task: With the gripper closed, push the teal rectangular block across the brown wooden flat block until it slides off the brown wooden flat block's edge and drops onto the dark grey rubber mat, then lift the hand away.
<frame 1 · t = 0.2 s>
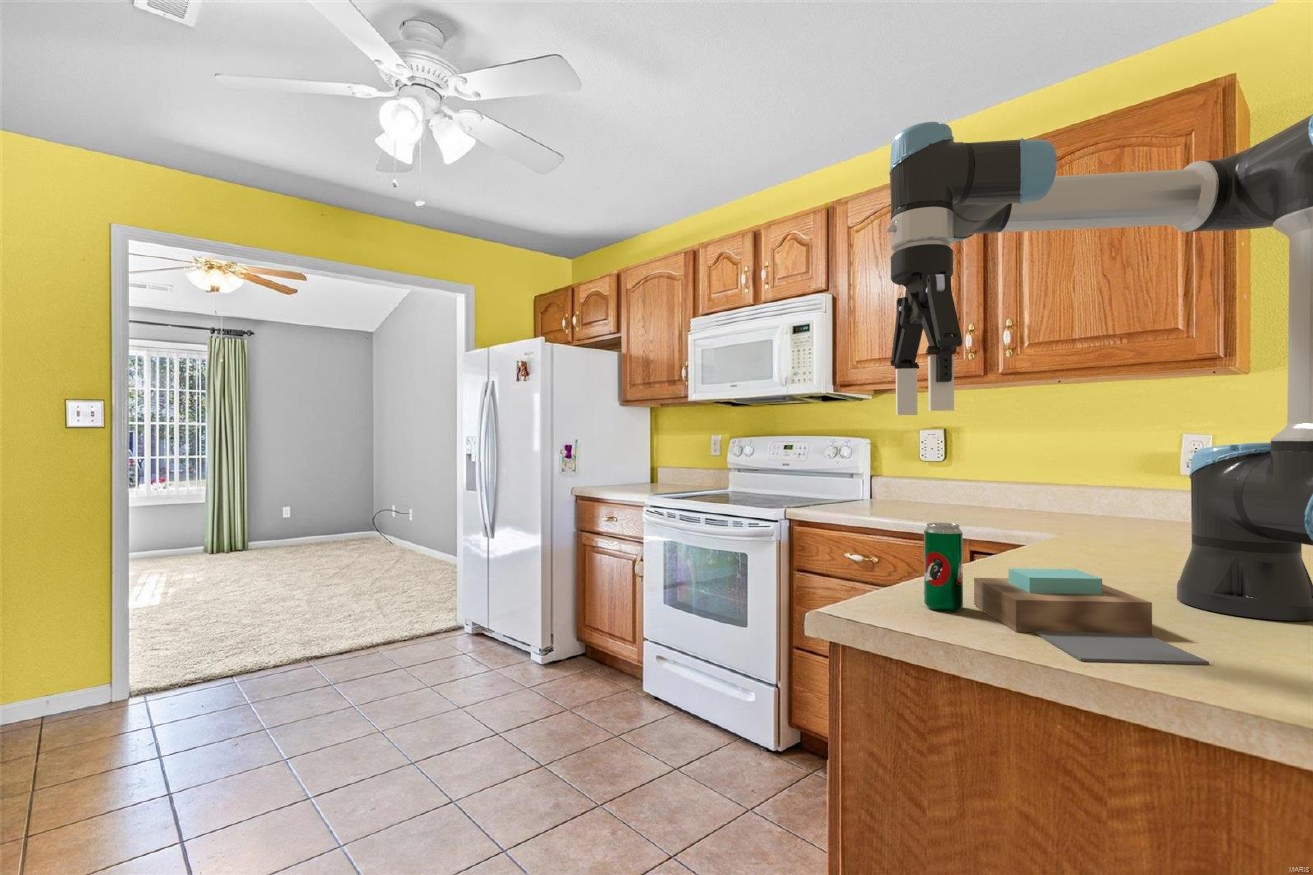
hand: (922, 413, 84), 28 cm above the table, tool pointing down, fingers open, 13 cm apart
brown wooden flat block: (1055, 618, 86), on the table
soda can: (943, 609, 92), on the table
mat: (1115, 647, 74), on the table
teal rectangular block: (1053, 588, 87), point 4 cm above the table, touching brown wooden flat block
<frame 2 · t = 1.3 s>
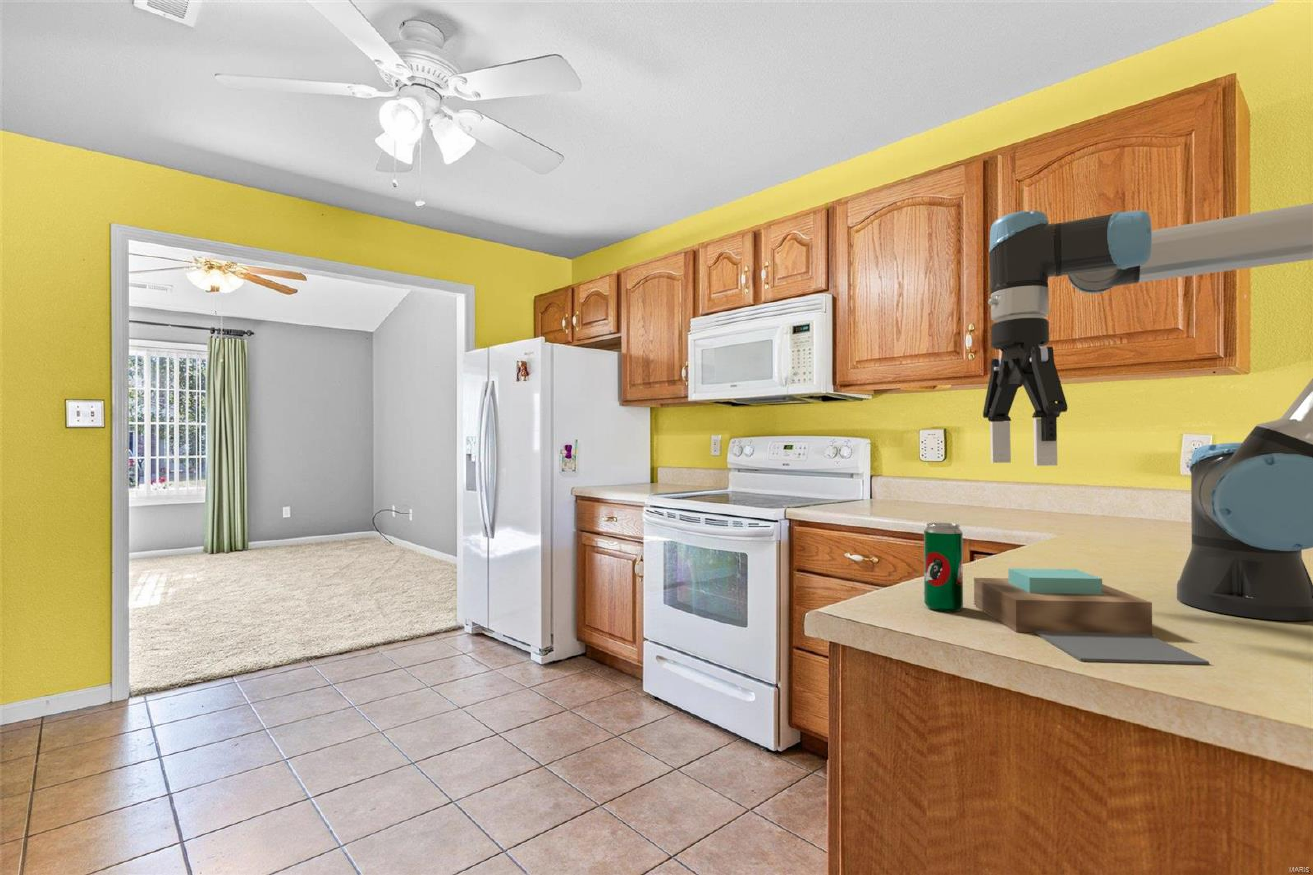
hand: (1021, 464, 95), 20 cm above the table, tool pointing down, fingers open, 13 cm apart
nothing on the table moved.
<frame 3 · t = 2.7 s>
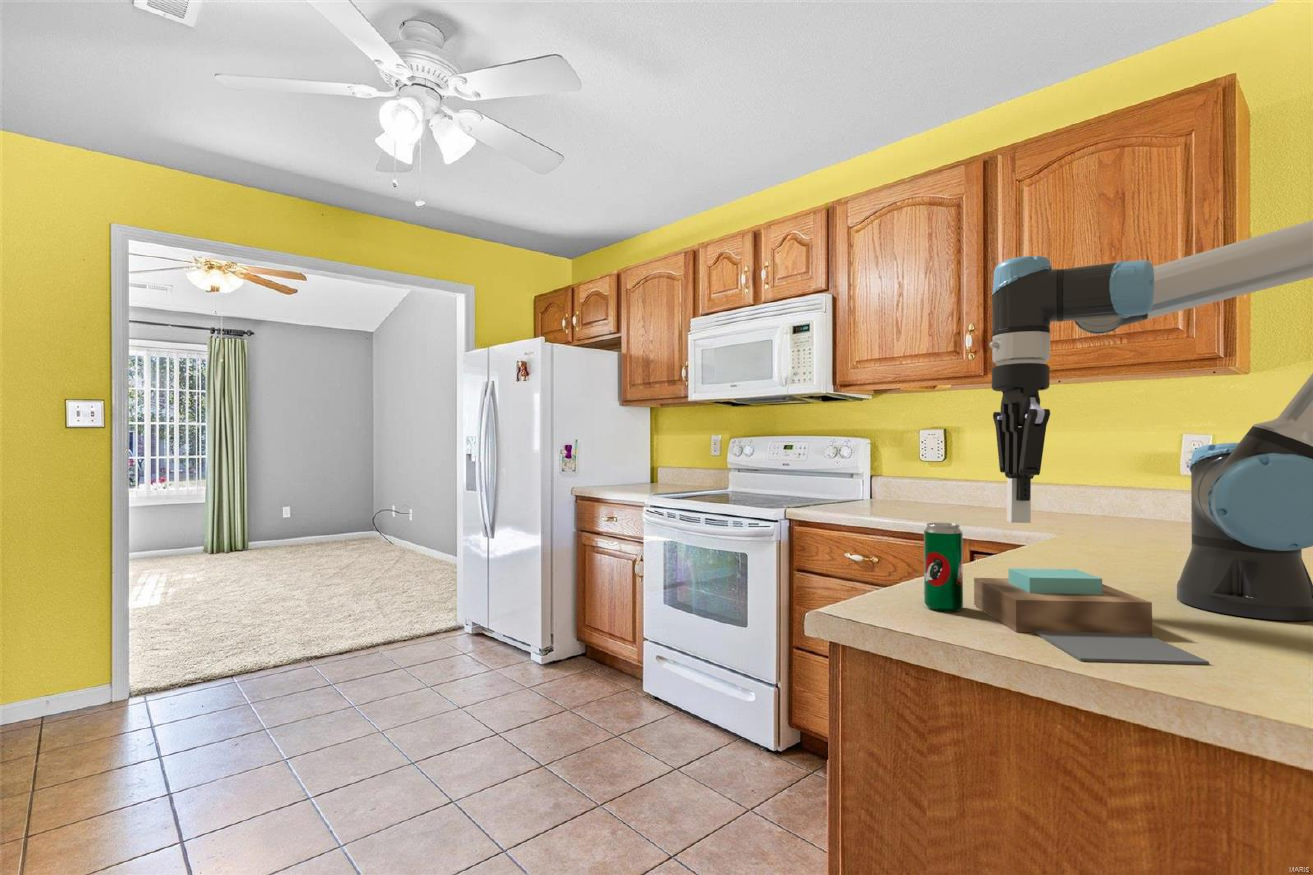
hand: (1018, 522, 96), 12 cm above the table, tool pointing down, fingers closed
nothing on the table moved.
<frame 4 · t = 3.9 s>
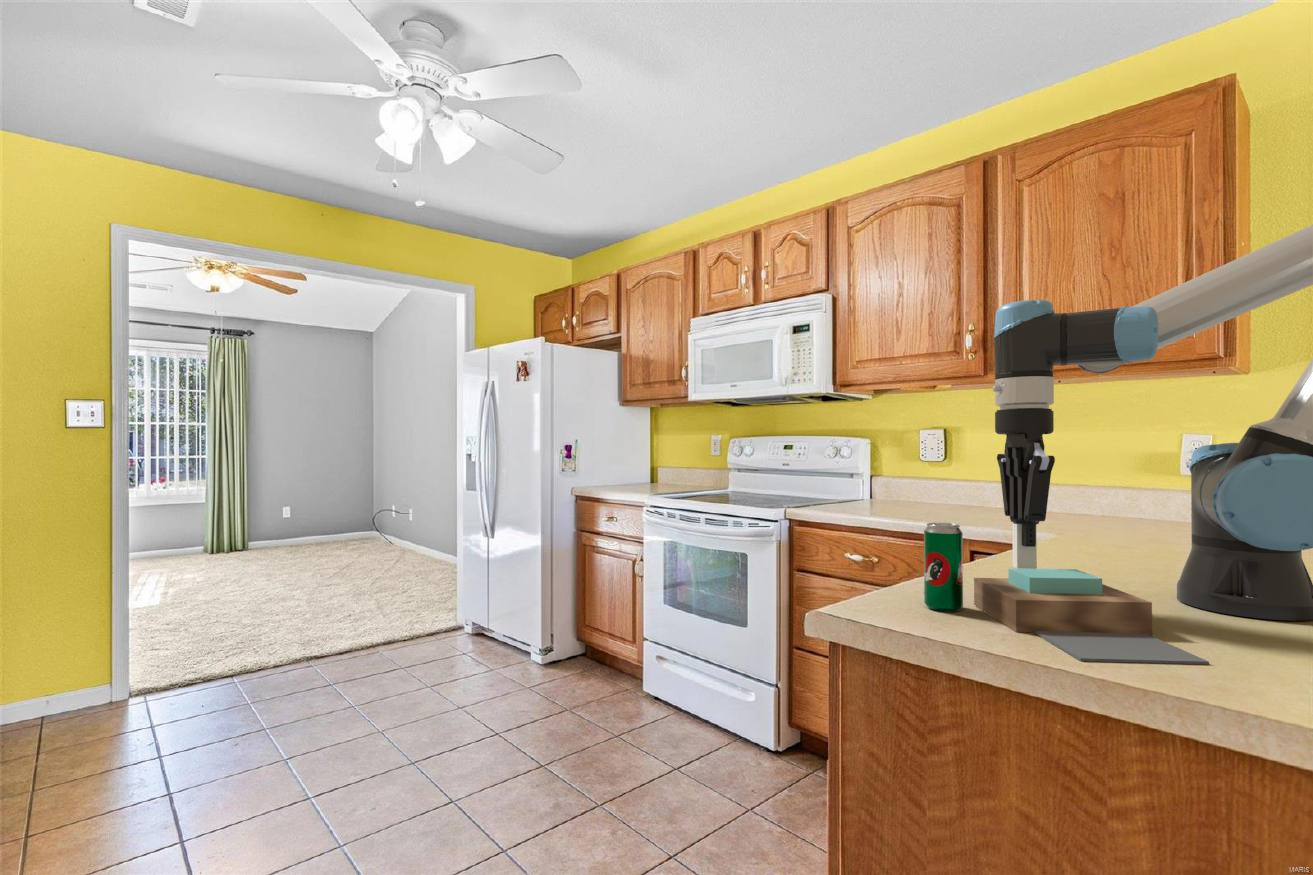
hand: (1024, 567, 95), 5 cm above the table, tool pointing down, fingers closed
nothing on the table moved.
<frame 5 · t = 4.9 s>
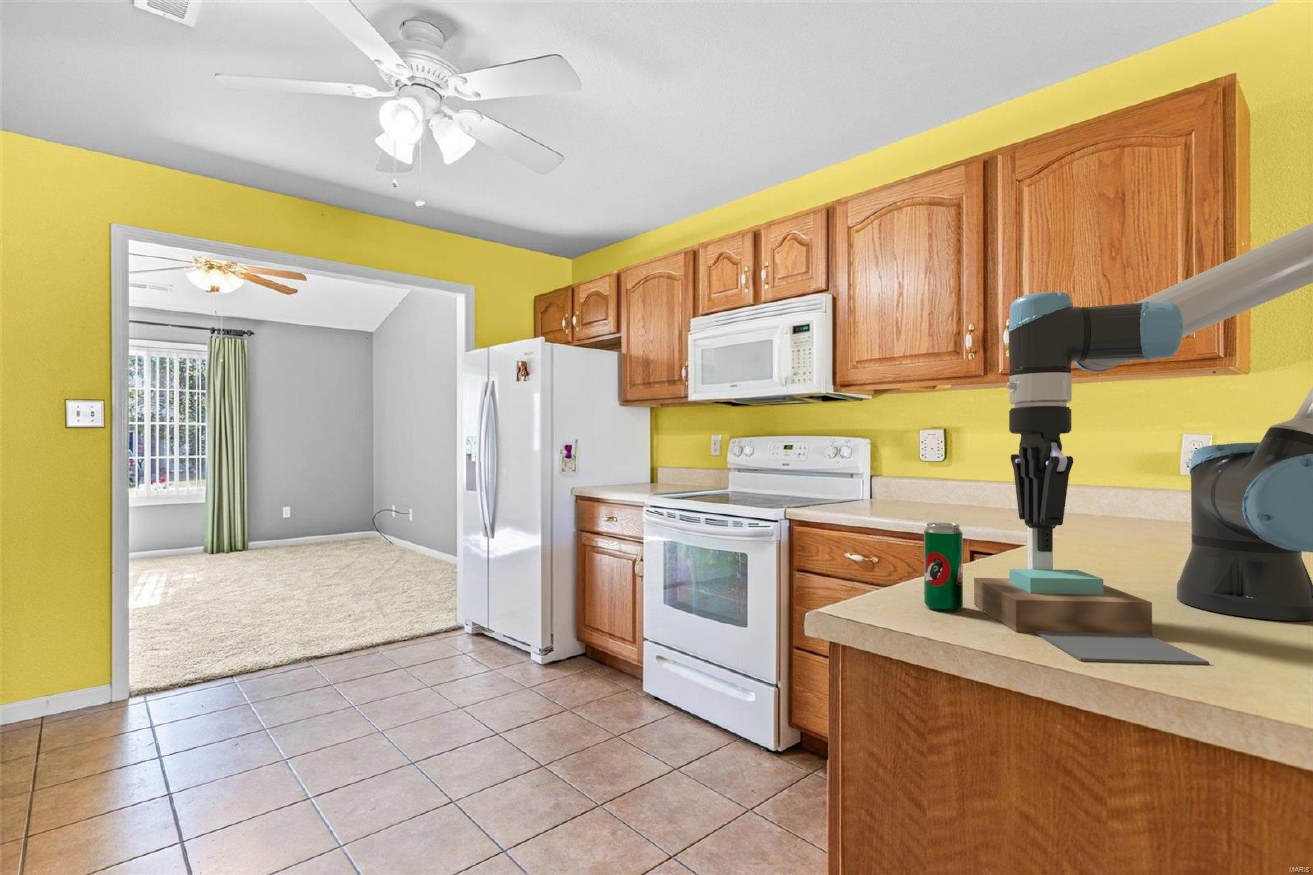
hand: (1040, 573, 90), 5 cm above the table, tool pointing down, fingers closed
teal rectangular block: (1054, 588, 86), point 4 cm above the table, touching gripper
everything else where it was.
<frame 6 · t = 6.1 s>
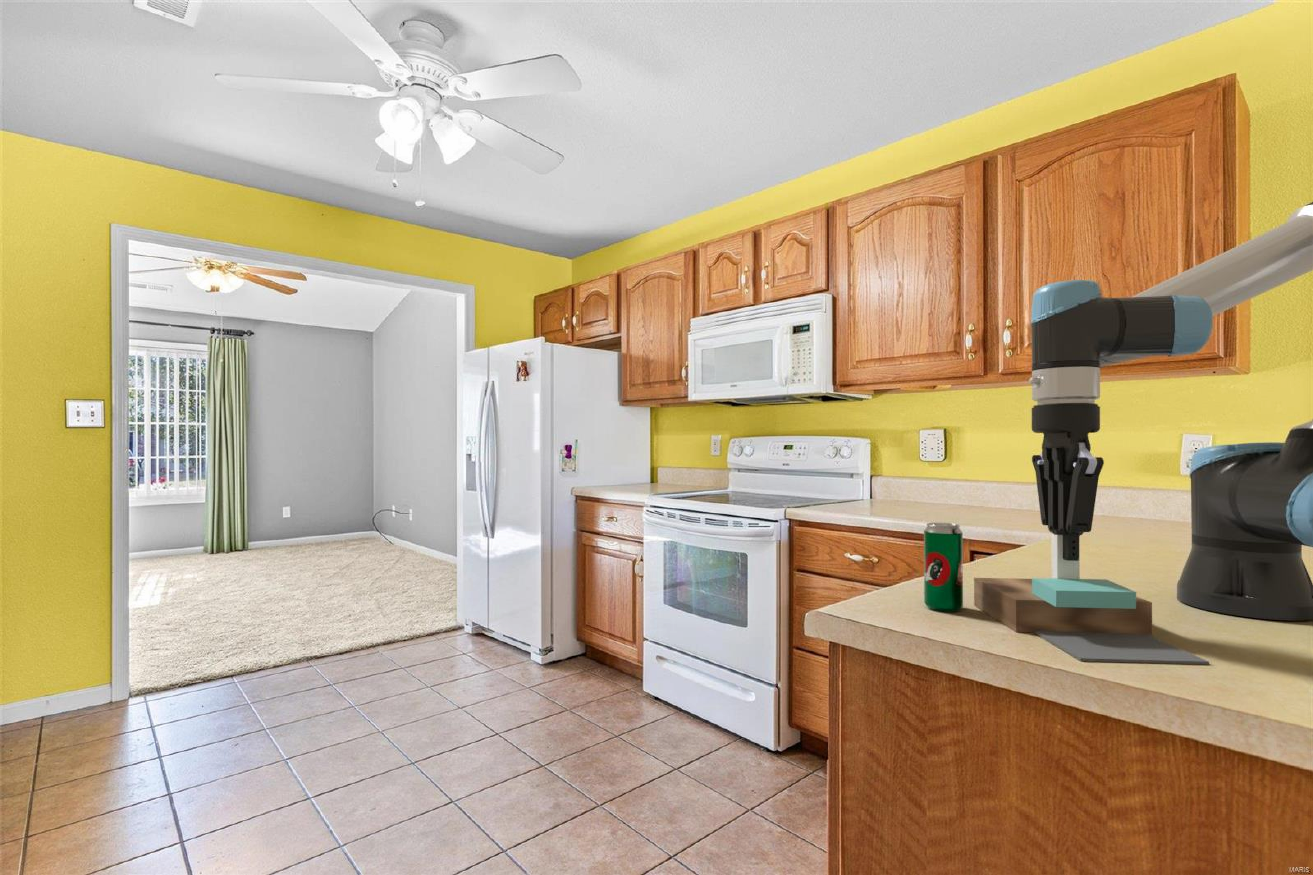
hand: (1065, 583, 84), 5 cm above the table, tool pointing down, fingers closed
teal rectangular block: (1081, 600, 80), point 4 cm above the table, touching gripper
everything else where it was.
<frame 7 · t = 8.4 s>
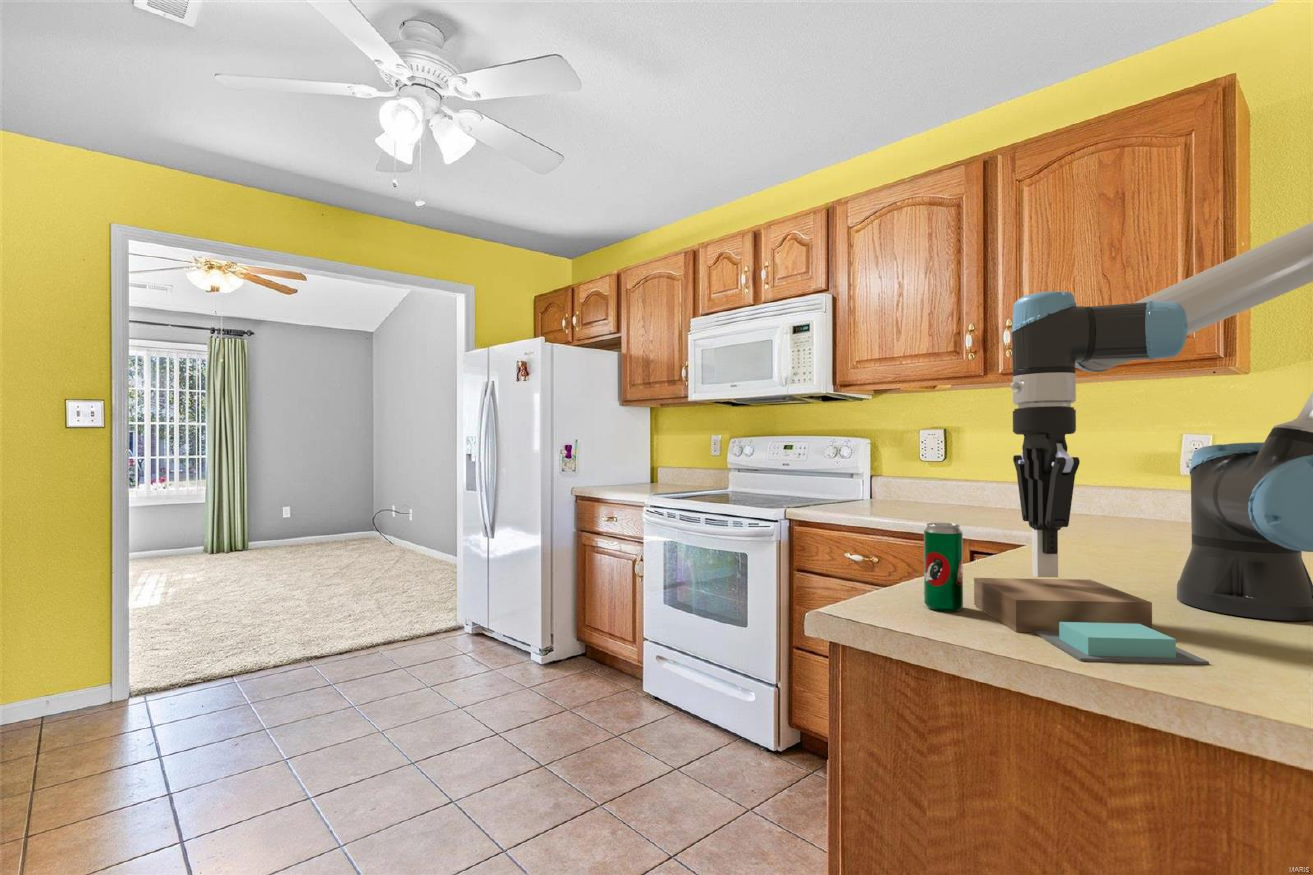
hand: (1045, 576, 89), 5 cm above the table, tool pointing down, fingers closed
teal rectangular block: (1114, 630, 73), point 2 cm above the table, tilted 180°, touching mat
everything else where it was.
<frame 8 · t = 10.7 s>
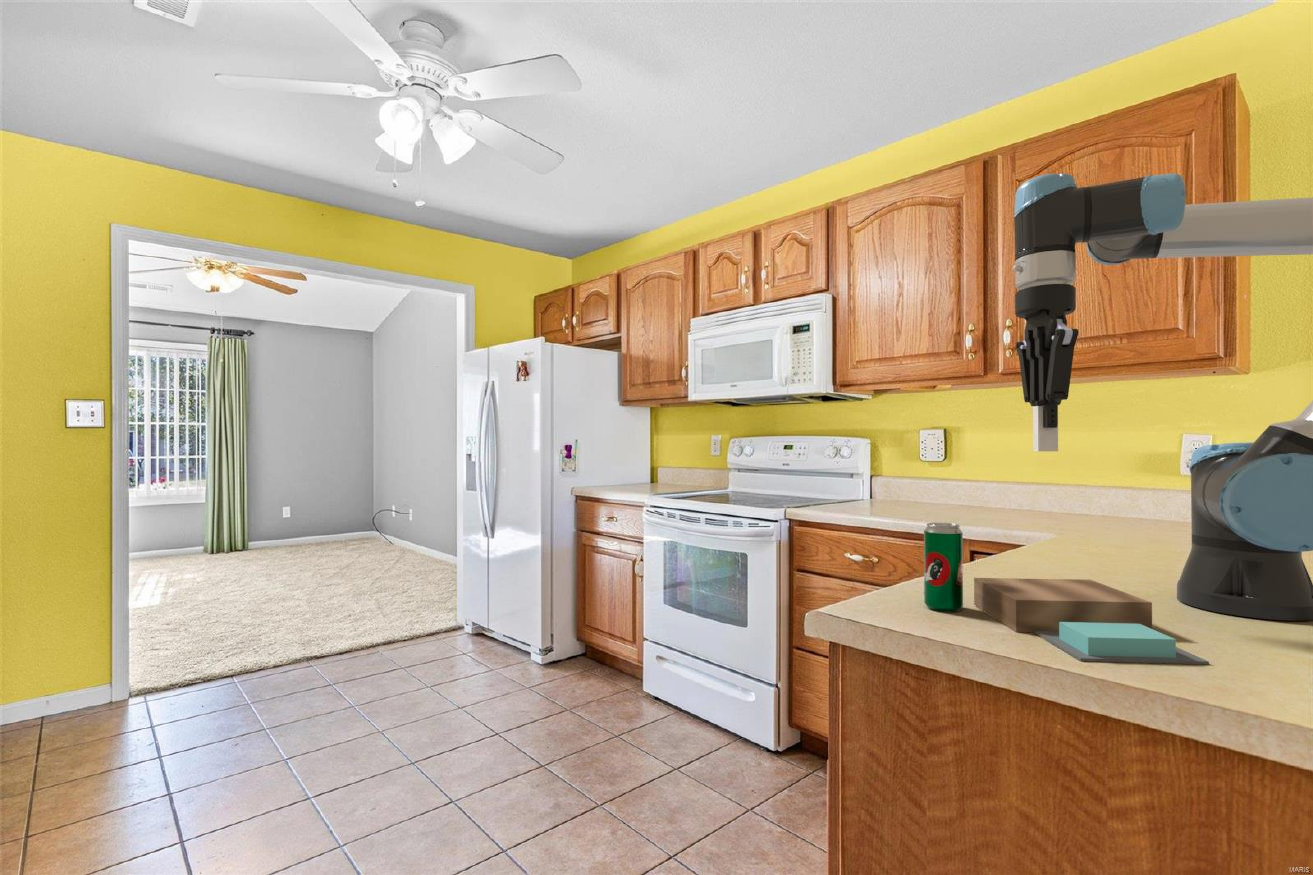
hand: (1045, 451, 93), 22 cm above the table, tool pointing down, fingers closed
nothing on the table moved.
at the end: teal rectangular block point 2.3 cm above the table; teal rectangular block inside the target area (1.2 cm from its centre), point 2.3 cm above the table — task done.
